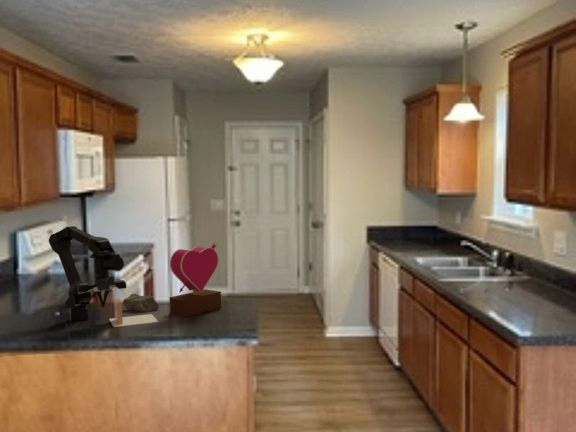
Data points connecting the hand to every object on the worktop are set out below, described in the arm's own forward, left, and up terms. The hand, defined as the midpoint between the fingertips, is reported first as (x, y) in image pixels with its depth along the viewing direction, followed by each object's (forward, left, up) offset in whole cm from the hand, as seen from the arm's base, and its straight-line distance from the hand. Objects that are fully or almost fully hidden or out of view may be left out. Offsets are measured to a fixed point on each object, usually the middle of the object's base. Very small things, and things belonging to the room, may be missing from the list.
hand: (102, 306), depth 249 cm
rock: (+18, +19, -8) cm, 27 cm away
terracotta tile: (+6, 0, -7) cm, 9 cm away
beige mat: (+12, 0, -8) cm, 14 cm away
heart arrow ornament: (+42, +7, -8) cm, 43 cm away
